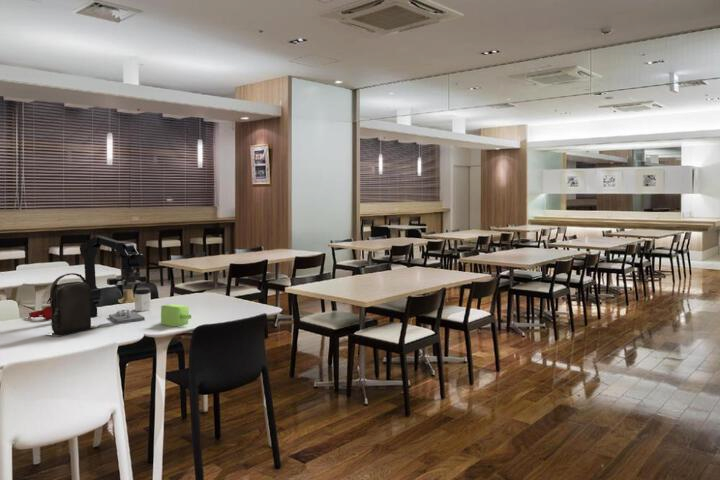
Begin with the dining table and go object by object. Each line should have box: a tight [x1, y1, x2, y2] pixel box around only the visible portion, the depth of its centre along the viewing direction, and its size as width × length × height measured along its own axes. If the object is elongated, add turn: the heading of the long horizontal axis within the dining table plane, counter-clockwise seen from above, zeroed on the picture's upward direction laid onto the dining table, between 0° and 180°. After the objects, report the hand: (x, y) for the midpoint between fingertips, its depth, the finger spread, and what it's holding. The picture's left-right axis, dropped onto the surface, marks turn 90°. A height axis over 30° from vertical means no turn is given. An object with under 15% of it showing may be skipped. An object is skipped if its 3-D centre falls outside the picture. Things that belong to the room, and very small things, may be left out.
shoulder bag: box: [46, 272, 101, 338], centre depth 274 cm, size 23×9×28 cm, turn 148°
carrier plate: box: [108, 309, 146, 325], centre depth 300 cm, size 13×18×6 cm
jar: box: [134, 287, 152, 312], centre depth 324 cm, size 9×8×12 cm
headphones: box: [28, 305, 51, 320], centre depth 307 cm, size 15×7×20 cm
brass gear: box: [117, 288, 138, 304], centre depth 297 cm, size 9×9×6 cm
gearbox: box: [160, 303, 192, 327], centre depth 288 cm, size 18×10×10 cm, turn 59°
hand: (128, 296), depth 297 cm, fingers closed on brass gear, 5 cm apart
